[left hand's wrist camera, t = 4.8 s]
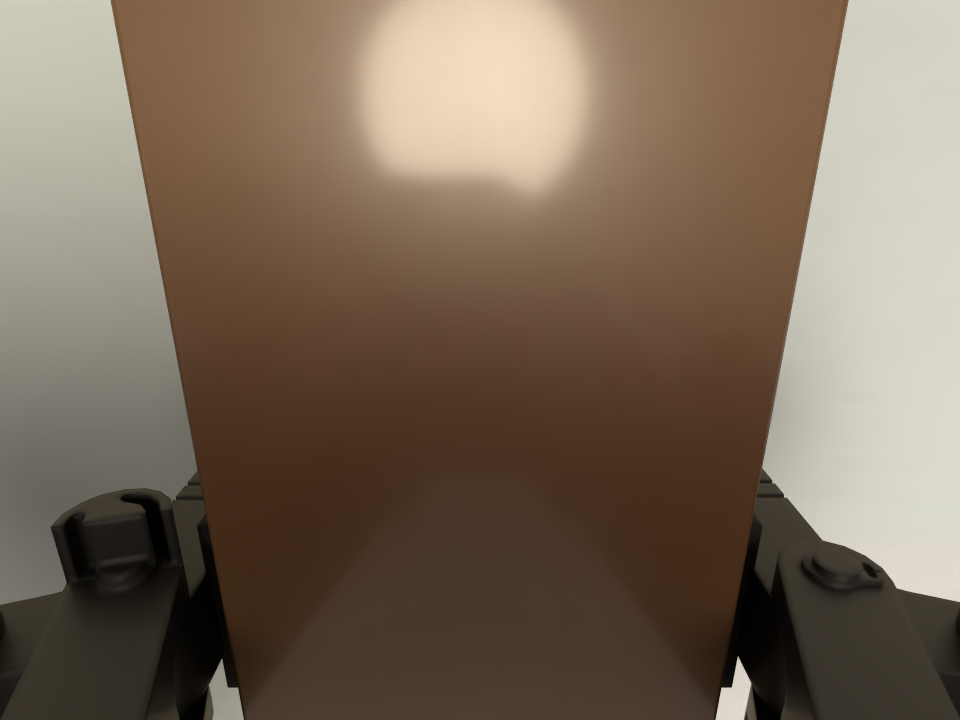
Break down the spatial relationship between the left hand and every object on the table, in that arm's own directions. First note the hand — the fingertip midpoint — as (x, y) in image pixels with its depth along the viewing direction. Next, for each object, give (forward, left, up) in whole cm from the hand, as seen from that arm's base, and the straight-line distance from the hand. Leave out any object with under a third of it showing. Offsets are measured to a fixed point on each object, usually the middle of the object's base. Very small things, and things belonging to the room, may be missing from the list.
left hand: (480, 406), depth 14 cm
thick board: (+10, +18, -1) cm, 21 cm away
